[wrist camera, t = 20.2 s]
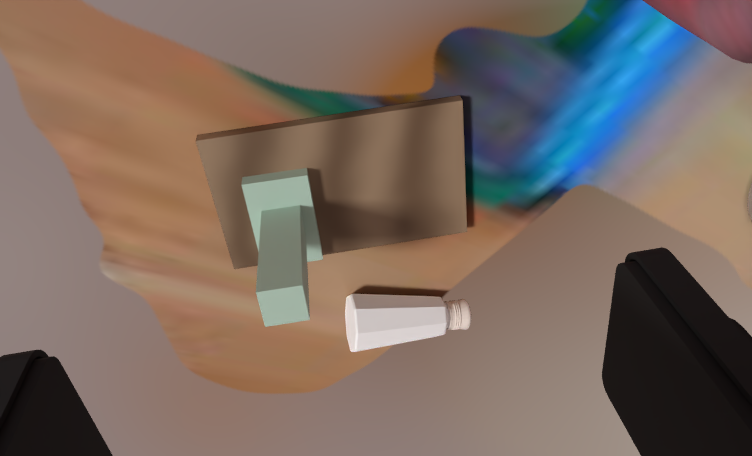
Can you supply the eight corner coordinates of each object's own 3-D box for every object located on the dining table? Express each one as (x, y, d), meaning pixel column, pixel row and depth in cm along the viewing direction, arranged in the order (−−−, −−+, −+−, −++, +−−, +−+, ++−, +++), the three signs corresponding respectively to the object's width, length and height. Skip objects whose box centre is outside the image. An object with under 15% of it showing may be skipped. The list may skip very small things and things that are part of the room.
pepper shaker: (350, 363, 56) (465, 353, 58) (358, 338, 51) (483, 327, 54) (342, 309, 59) (452, 301, 61) (349, 281, 54) (468, 273, 57)
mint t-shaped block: (306, 167, 48) (311, 251, 39) (322, 251, 52) (329, 344, 43) (242, 177, 48) (231, 264, 38) (263, 260, 52) (258, 355, 43)
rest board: (459, 95, 47) (462, 100, 46) (464, 225, 54) (467, 231, 53) (197, 135, 46) (195, 140, 46) (235, 262, 53) (234, 269, 52)
